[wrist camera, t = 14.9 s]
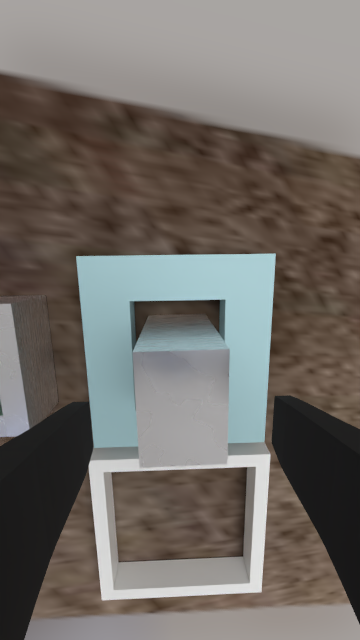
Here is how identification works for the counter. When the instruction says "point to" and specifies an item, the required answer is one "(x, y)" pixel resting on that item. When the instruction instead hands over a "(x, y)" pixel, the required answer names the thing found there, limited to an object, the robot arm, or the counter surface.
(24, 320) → the button housing
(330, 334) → the counter surface
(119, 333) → the pale blue window frame
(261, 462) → the white square frame
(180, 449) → the billet
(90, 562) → the counter surface
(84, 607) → the counter surface
